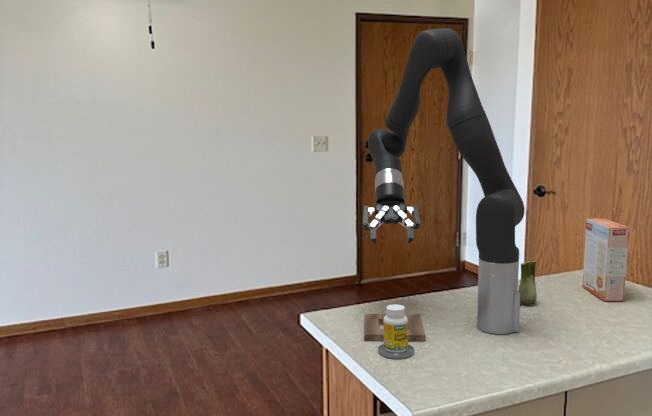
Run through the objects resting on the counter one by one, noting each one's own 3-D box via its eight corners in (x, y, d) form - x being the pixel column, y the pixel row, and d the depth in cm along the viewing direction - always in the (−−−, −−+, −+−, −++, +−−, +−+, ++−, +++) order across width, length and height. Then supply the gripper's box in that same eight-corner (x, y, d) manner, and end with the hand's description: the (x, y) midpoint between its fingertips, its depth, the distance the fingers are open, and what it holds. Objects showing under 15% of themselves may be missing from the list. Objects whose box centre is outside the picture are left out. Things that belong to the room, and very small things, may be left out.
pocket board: (419, 319, 147) (419, 314, 146) (425, 341, 133) (425, 335, 133) (364, 319, 148) (364, 313, 147) (364, 340, 134) (364, 334, 134)
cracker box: (625, 302, 157) (630, 226, 154) (603, 302, 158) (608, 227, 154) (602, 286, 171) (606, 217, 168) (581, 287, 171) (585, 217, 168)
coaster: (412, 344, 131) (413, 342, 131) (415, 359, 123) (415, 356, 123) (377, 344, 132) (377, 341, 132) (378, 359, 124) (378, 356, 124)
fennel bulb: (532, 300, 160) (534, 258, 158) (541, 306, 155) (543, 263, 153) (512, 302, 159) (514, 259, 157) (521, 307, 154) (522, 264, 152)
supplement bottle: (397, 342, 131) (397, 301, 130) (412, 349, 127) (413, 307, 125) (378, 347, 128) (378, 306, 127) (394, 355, 124) (394, 312, 122)
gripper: (362, 181, 149) (363, 234, 140) (417, 180, 148) (422, 232, 139) (362, 199, 155) (363, 250, 146) (416, 197, 154) (420, 249, 145)
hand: (392, 241), depth 142 cm, fingers open, 8 cm apart
